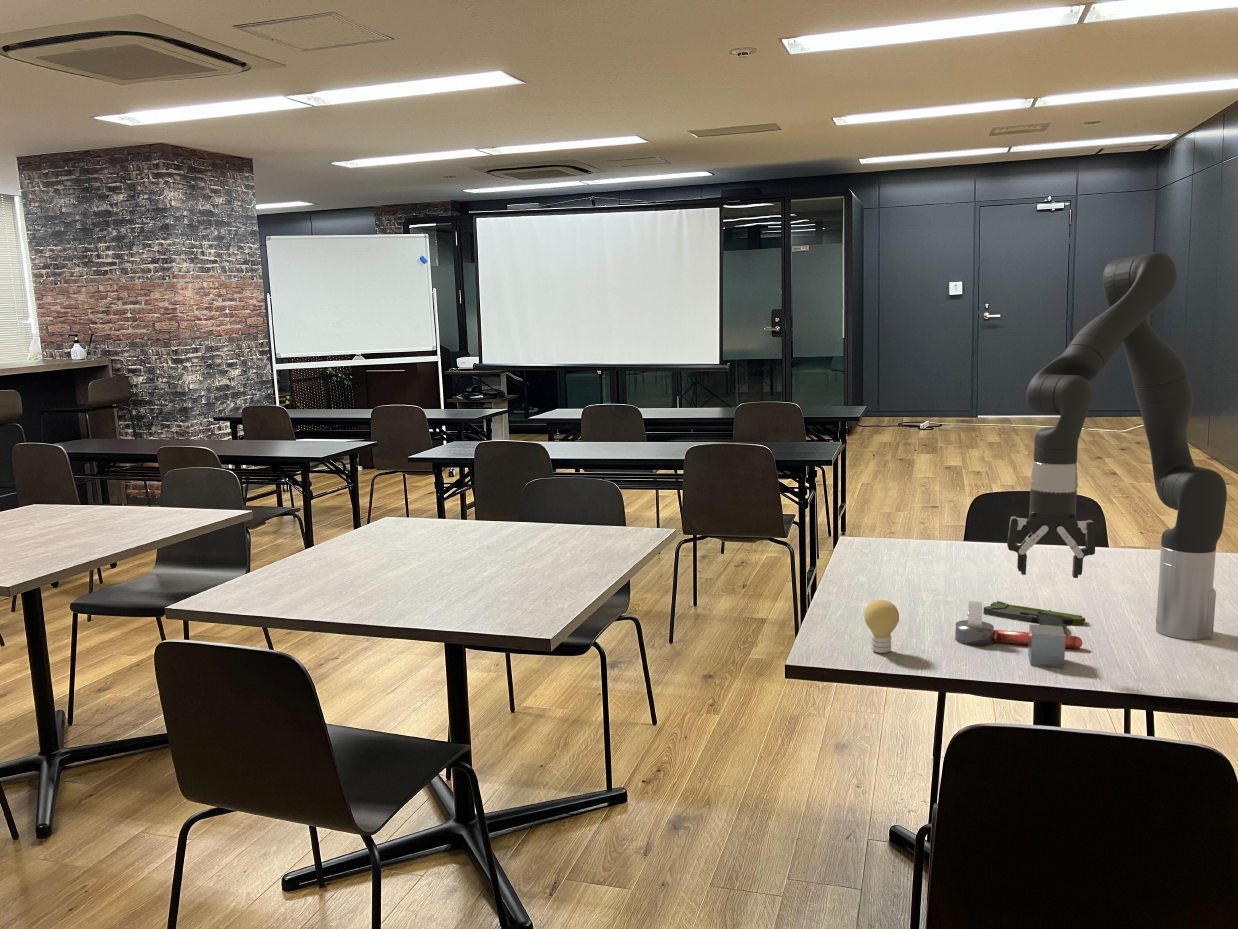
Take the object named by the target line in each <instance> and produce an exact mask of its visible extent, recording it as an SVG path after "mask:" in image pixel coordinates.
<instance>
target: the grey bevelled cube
mask: <svg viewBox="0 0 1238 929" xmlns="http://www.w3.org/2000/svg"><path fill="white" fill-rule="evenodd" d="M1028 632H1029V645H1028V649H1027V650H1028V651H1027V657H1028V659H1029V660H1028V661H1029V664H1030V666H1033V667H1044V668H1045V667H1046V668H1055V669H1065V657H1066V656H1065V655H1066V653H1065V652H1066V648H1065V639H1066V636H1065V633H1064V631H1063V628H1062V627H1059V626H1045V625H1039V624H1029V626H1028Z"/></svg>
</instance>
